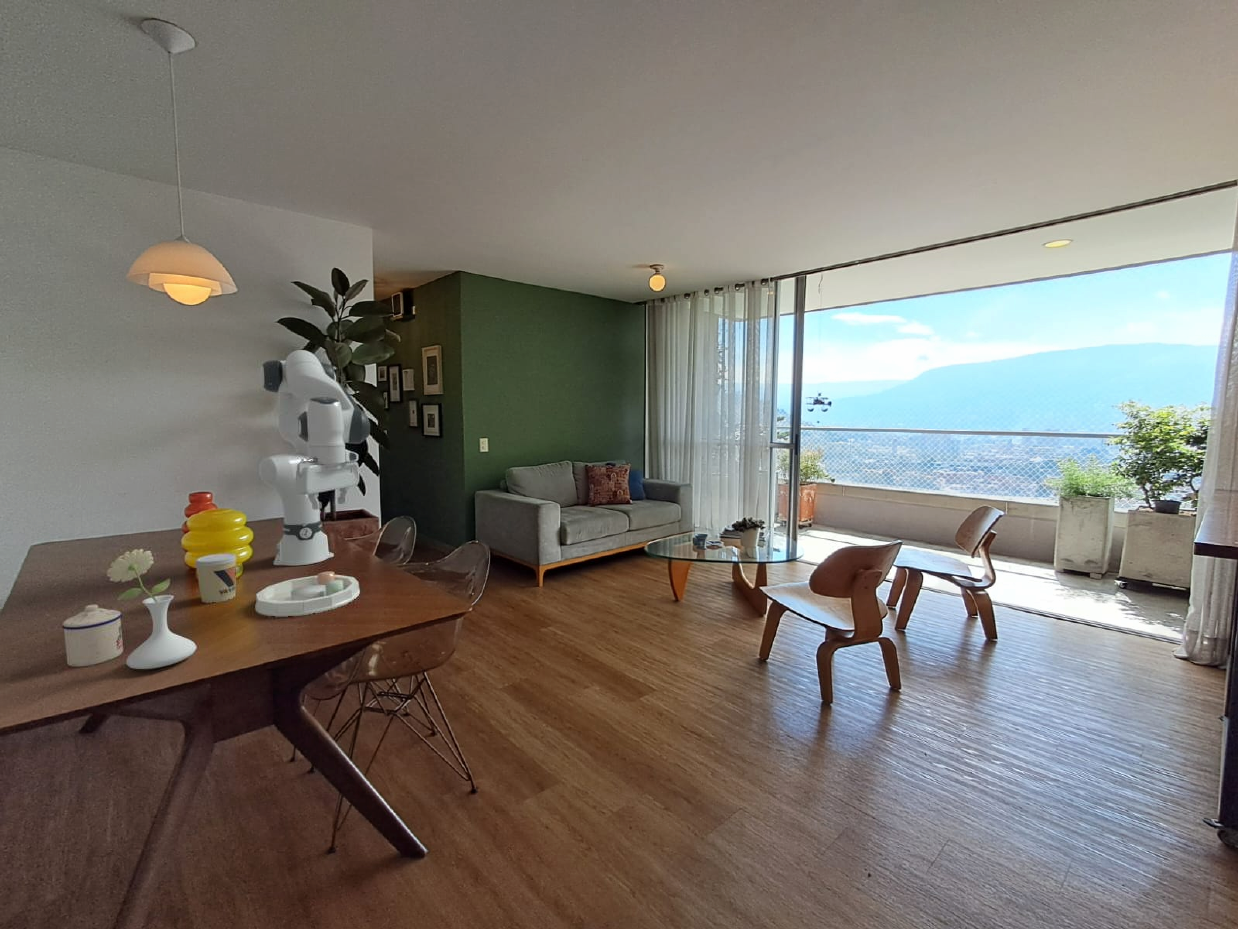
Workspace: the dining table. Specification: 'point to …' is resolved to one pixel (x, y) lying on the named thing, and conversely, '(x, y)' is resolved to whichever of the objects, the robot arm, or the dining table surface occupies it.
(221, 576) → the coffee cup
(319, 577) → the terracotta bead
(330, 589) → the sage bead
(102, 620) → the teacup with lid
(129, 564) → the flower in vase
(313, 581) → the groove tray
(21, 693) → the dining table surface
